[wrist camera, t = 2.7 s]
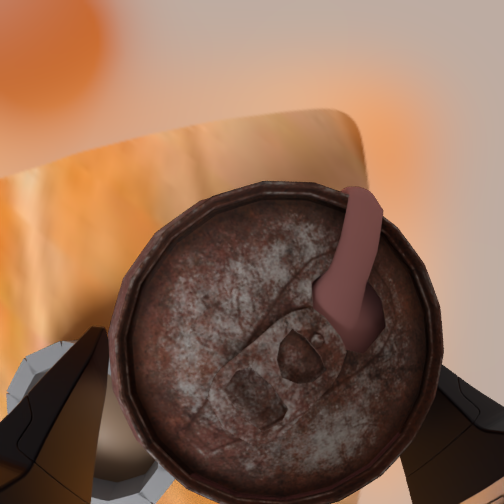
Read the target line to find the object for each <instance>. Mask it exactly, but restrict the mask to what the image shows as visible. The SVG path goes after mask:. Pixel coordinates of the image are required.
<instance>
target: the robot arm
mask: <svg viewBox="0 0 504 504" xmlns="http://www.w3.org/2000/svg"><path fill="white" fill-rule="evenodd" d="M109 357H110V356H109V341H108V336H107V332H106V329H105V327H103V326H92V327H90V328H89V329H88V330H87V331H86V332H85V333H84V334H83V335H82V336H81V337H80V338H79V340H78V341H77V342H76V343H75V344H74V345H73V346H72V347H71V348H70V349H69V350H68V351H67V352H66V353H65V354H64V355H63V356H62V357H61V358H60V359H59V360H58V361H57V362H56V363H55V364H54V365H53V367H52V368H51V369H50V370H49V371H48V372H47V373H46V374H45V375H44V376H43V377H42V378H41V379H40V380H39V382H38V383H37V384H36V385H35V386H34V387H33V388H32V389H31V390H30V391H29V393H28V395H26V396H25V397H24V398H23V399H22V400H21V401H20V402H19V404H18V405H17V406H16V407H15V408H14V409H13V410H12V411H11V412H10V413H9V414H8V415H7V416H6V417H5V418H4V419H3V420H2V421H1V422H0V504H91V495H92V485H93V475H94V467H95V459H96V451H97V444H98V437H99V431H100V425H101V419H102V413H103V408H104V402H105V397H106V389H107V378H108V366H109ZM400 458H401V462H402V466H403V469H404V472H405V476H406V481H407V484H408V488H409V491H410V496H411V500H412V504H504V407H503V406H502V405H500V404H498V403H497V402H495V401H494V400H492V399H491V398H489V397H487V396H486V395H484V394H482V393H481V392H480V391H478V390H476V389H475V388H473V387H472V386H470V385H469V384H468V383H466V382H465V381H464V380H462V379H461V378H460V377H457V375H456V374H454V373H453V372H452V371H450V370H449V369H448V368H446V367H445V366H443V365H441V371H440V376H439V381H438V386H437V391H436V395H435V399H434V401H433V403H432V405H431V407H430V409H429V411H428V413H427V416H426V418H425V420H424V422H423V424H422V426H421V427H420V429H419V431H418V433H417V435H416V437H415V439H414V440H413V441H412V443H411V444H410V445H409V446H408V447H407V448H406V450H405V451H404V452H403V453H402V454H401V455H400Z"/></svg>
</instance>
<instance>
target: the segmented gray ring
mask: <svg viewBox="0 0 504 504" xmlns="http://www.w3.org/2000/svg"><path fill="white" fill-rule="evenodd" d="M77 341H78V340H73V341H59V342H57V343H55V344H53V345H50V346H48V347H46V348H44V349H41V350H39V351H37V352H35V353H33V354H30V355H28V356H26V358H24V359H23V361H22V362H21V364H20V366H19V368H18V370H17V372H16V374H15V376H14V378H13V380H12V382H11V384H10V386H9V388H8V390H7V391H8V393H6V394H7V411H8V414H9V413H10V412H11V411H12V410H13V409H14V408H15V407H16V406H17V405H18V404H19V402H20V401H21V400H22V399H23V398H24V397H25V396H26V395H28V393H29V391H30V390H31V389H32V388H33V387H34V386H35V385H36V384H37V383H38V382H39V380H40V379H41V378H42V377H43V376H44V375H45V374H46V373H47V372H48V371H49V370H50V369H51V368H52V367H53V365H54V364H55V363H56V362H57V361H58V360H59V359H60V358H61V357H62V356H63V355H64V354H65V353H66V352H67V351H68V350H69V349H70V348H71V347H72V346H73V345H74V344H75V343H76V342H77ZM174 480H175V478H174V477H173V476H172V475H171V474H169V473H168V472H167V471H166V470H165V469H164V468H163V467H162V466H161V465H160V464H159V463H158V462H157V461H156V460H155V459H154V458H153V457H152V456H151V455H150V454H149V453H148V452H147V451H146V450H145V449H144V448H143V447H142V445H141V444H140V443H139V442H138V441H137V440H136V438H135V437H134V435H133V433H132V431H131V429H130V427H129V424H128V422H127V420H126V418H125V416H124V414H123V412H122V410H121V407H120V405H119V403H118V401H117V399H116V396H115V394H114V392H113V389H112V379H111V369H110V357H109V366H108V378H107V389H106V397H105V402H104V408H103V413H102V419H101V425H100V431H99V437H98V444H97V451H96V459H95V467H94V475H93V485H92V495H91V504H153V503H154V504H156V503H157V501H158V500H159V499H160V498H161V496H162V495H163V494H164V493H165V491H166V490H167V489H168V487H169V486H170V485H171V484H172V482H173V481H174Z"/></svg>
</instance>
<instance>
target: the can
mask: <svg viewBox="0 0 504 504" xmlns="http://www.w3.org/2000/svg"><path fill="white" fill-rule="evenodd" d="M108 341H109V356H110V369H111V379H112V389H113V392H114V394H115V396H116V399H117V401H118V403H119V405H120V407H121V410H122V412H123V414H124V416H125V418H126V420H127V422H128V424H129V427H130V429H131V431H132V433H133V435H134V437H135V438H136V440H137V441H138V442H139V443H140V444H141V445H142V447H143V448H144V449H145V450H146V451H147V452H148V453H149V454H150V455H151V456H152V457H153V458H154V459H155V460H156V461H157V462H158V463H159V464H160V465H161V466H162V467H163V468H164V469H165V470H166V471H167V472H168V473H169V474H171V475H172V476H173V477H174V478H175V479H176V480H177V481H178V482H179V483H181V484H182V485H183V486H184V487H185V488H186V489H188V490H190V491H192V492H194V493H197V494H199V495H201V496H203V497H206V498H208V499H210V500H213V501H215V502H217V503H220V504H331V503H335V502H338V501H340V500H342V499H344V498H346V497H347V496H349V495H351V494H353V493H354V492H356V491H358V490H359V489H361V488H363V487H364V486H366V485H367V484H369V483H371V482H372V481H374V480H375V479H377V478H378V477H380V476H381V475H382V474H383V473H384V472H385V471H386V470H387V469H388V468H389V467H390V466H391V465H392V464H393V463H394V462H395V461H396V460H397V458H398V457H399V456H400V455H401V454H402V453H403V452H404V451H405V450H406V448H407V447H408V446H409V445H410V444H411V443H412V441H413V440H414V439H415V437H416V435H417V433H418V431H419V429H420V427H421V426H422V424H423V422H424V420H425V418H426V416H427V413H428V411H429V409H430V407H431V405H432V403H433V401H434V399H435V395H436V391H437V386H438V381H439V376H440V371H441V365H442V359H443V353H444V348H443V333H442V321H441V311H440V305H439V302H438V300H437V296H436V294H435V291H434V288H433V285H432V283H431V280H430V277H429V275H428V272H427V270H426V267H425V265H424V263H423V261H422V260H421V259H420V257H419V256H418V254H417V253H416V252H415V250H414V249H413V248H412V246H411V245H410V243H409V242H408V241H407V239H406V238H405V237H404V235H403V234H402V233H401V232H400V230H399V229H398V228H397V227H396V226H395V225H394V224H393V223H391V222H390V221H388V220H387V219H386V218H385V217H384V216H383V209H382V208H381V206H380V205H379V203H378V201H377V200H376V198H375V197H374V195H373V194H372V193H371V192H370V191H368V190H366V189H364V188H361V187H346V188H344V189H343V190H342V191H341V192H340V191H337V190H334V189H331V188H329V187H326V186H323V185H320V184H317V183H313V182H286V181H262V182H258V183H255V184H251V185H248V186H244V187H241V188H238V189H234V190H231V191H228V192H224V193H221V194H218V195H215V196H212V197H210V198H208V199H204V200H201V201H199V202H198V203H196V204H195V205H193V206H192V207H190V208H189V209H188V210H186V211H185V212H183V213H182V214H181V215H179V216H178V217H176V218H175V219H174V220H172V221H171V222H169V223H168V224H167V225H165V226H164V227H163V228H161V229H160V230H158V231H157V232H156V233H155V234H154V235H153V237H152V238H151V240H150V241H149V242H148V244H147V245H146V247H145V248H144V249H143V251H142V252H141V254H140V255H139V256H138V258H137V259H136V261H135V262H134V263H133V265H132V266H131V268H130V269H129V271H128V272H127V274H126V275H125V277H124V278H123V281H122V284H121V288H120V291H119V294H118V298H117V301H116V305H115V309H114V312H113V316H112V320H111V323H110V327H109V331H108Z"/></svg>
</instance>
